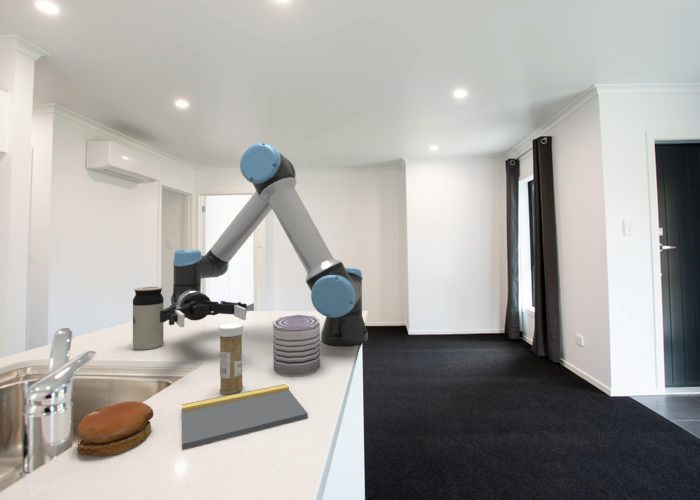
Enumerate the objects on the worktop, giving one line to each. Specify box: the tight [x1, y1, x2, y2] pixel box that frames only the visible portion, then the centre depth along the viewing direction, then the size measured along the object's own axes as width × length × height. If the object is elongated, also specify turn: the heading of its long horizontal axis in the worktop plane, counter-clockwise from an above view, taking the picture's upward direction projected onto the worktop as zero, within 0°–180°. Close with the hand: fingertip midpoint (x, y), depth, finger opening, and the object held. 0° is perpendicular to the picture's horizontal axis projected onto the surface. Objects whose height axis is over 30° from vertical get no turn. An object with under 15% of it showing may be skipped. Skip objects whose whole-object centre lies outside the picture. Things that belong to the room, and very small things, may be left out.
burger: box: [76, 400, 154, 457], centre depth 50 cm, size 10×9×5 cm
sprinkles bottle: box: [218, 323, 244, 396], centre depth 67 cm, size 5×5×14 cm
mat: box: [181, 383, 309, 450], centre depth 57 cm, size 19×14×1 cm
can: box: [271, 314, 322, 378], centre depth 79 cm, size 11×11×12 cm
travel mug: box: [132, 286, 165, 351], centre depth 99 cm, size 8×8×18 cm
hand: (215, 317), depth 75 cm, fingers open, 13 cm apart
